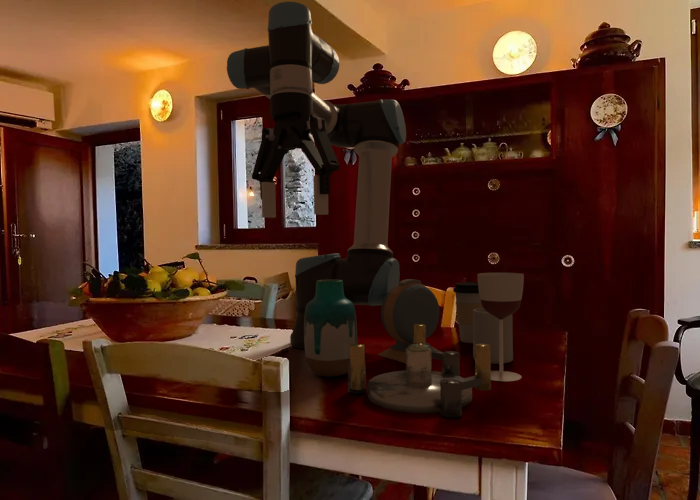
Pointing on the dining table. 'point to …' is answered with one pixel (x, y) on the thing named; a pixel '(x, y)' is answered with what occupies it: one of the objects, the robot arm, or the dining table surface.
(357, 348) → the knob
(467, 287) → the coffee cup
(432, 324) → the alarm clock
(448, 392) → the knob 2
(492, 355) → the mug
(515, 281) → the wineglass
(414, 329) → the crank handle
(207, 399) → the dining table surface
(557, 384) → the dining table surface
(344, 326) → the vase
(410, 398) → the plate
